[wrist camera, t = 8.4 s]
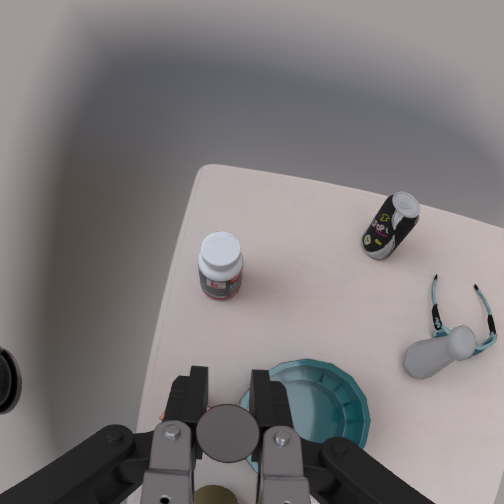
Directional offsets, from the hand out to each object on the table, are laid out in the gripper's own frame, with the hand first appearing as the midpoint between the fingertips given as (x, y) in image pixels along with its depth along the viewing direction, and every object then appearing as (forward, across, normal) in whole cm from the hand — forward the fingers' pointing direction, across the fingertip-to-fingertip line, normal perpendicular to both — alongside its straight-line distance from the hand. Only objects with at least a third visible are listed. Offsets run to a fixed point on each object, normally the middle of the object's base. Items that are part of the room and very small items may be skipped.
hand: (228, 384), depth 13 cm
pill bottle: (+32, +2, +8) cm, 33 cm away
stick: (+10, 0, +13) cm, 16 cm away
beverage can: (+38, -23, +2) cm, 45 cm away
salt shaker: (+24, -28, +16) cm, 40 cm away
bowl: (+18, -9, +22) cm, 30 cm away
